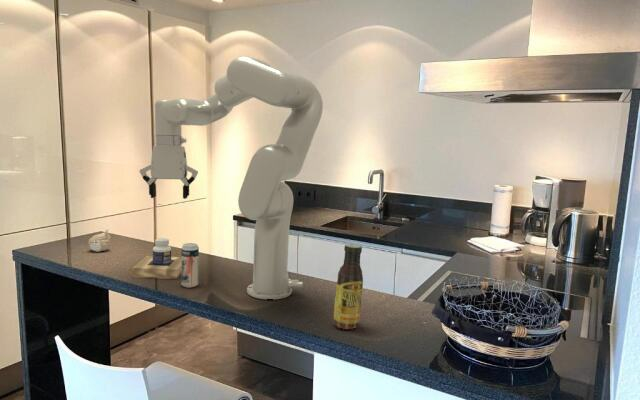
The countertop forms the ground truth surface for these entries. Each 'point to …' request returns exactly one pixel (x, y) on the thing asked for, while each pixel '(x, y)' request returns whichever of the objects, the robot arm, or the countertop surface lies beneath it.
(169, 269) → the socket block
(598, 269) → the countertop surface
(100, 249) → the garlic bulb
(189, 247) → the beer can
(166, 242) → the pill bottle
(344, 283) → the sauce bottle
